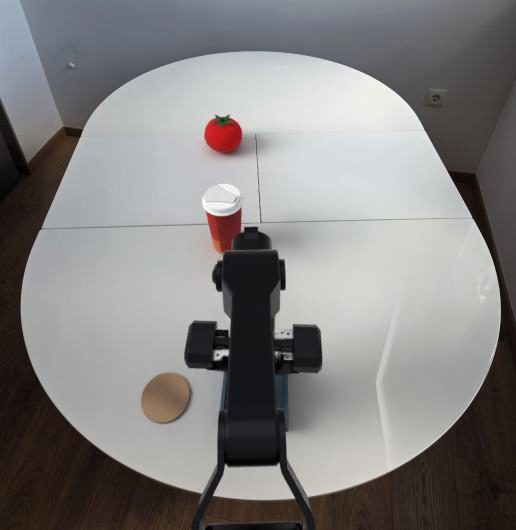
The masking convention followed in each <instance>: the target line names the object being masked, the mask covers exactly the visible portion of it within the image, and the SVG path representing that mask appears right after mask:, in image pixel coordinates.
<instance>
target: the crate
mask: <svg viewBox="0 0 516 530" xmlns="http://www.w3.org/2000/svg"><path fill="white" fill-rule="evenodd" d="M276 358H277V354H276V355H275V361H276ZM227 378H228V373H225V372H223V377H222V385H221V386H222V387H221V395H220V396H221V397H220V404H219V410H224V409H226V396H227ZM275 379H276V395H277V408H284V413H285V426H286V432H289V374H286V375H278V376H275Z"/></svg>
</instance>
